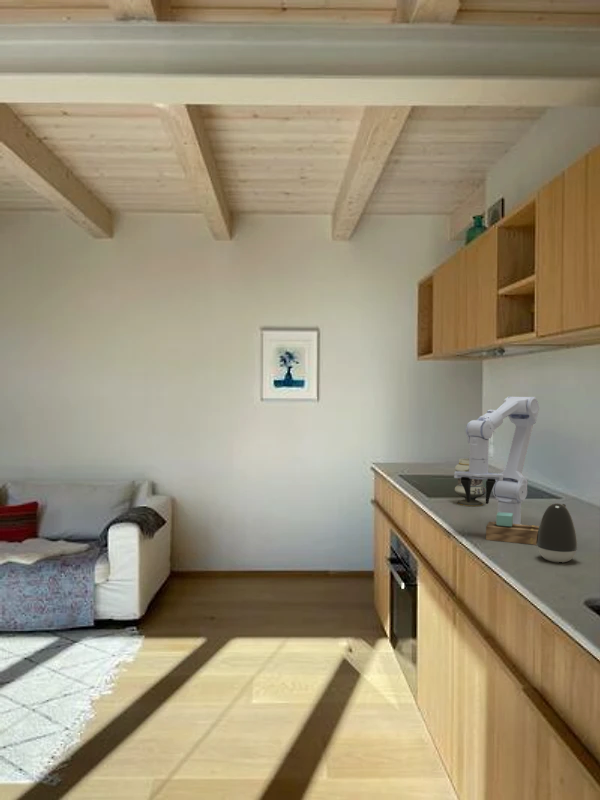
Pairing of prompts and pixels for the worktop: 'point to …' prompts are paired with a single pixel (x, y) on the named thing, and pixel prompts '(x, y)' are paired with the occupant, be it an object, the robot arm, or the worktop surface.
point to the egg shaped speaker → (557, 534)
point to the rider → (504, 519)
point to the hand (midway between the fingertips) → (478, 502)
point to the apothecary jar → (475, 489)
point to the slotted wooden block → (512, 533)
